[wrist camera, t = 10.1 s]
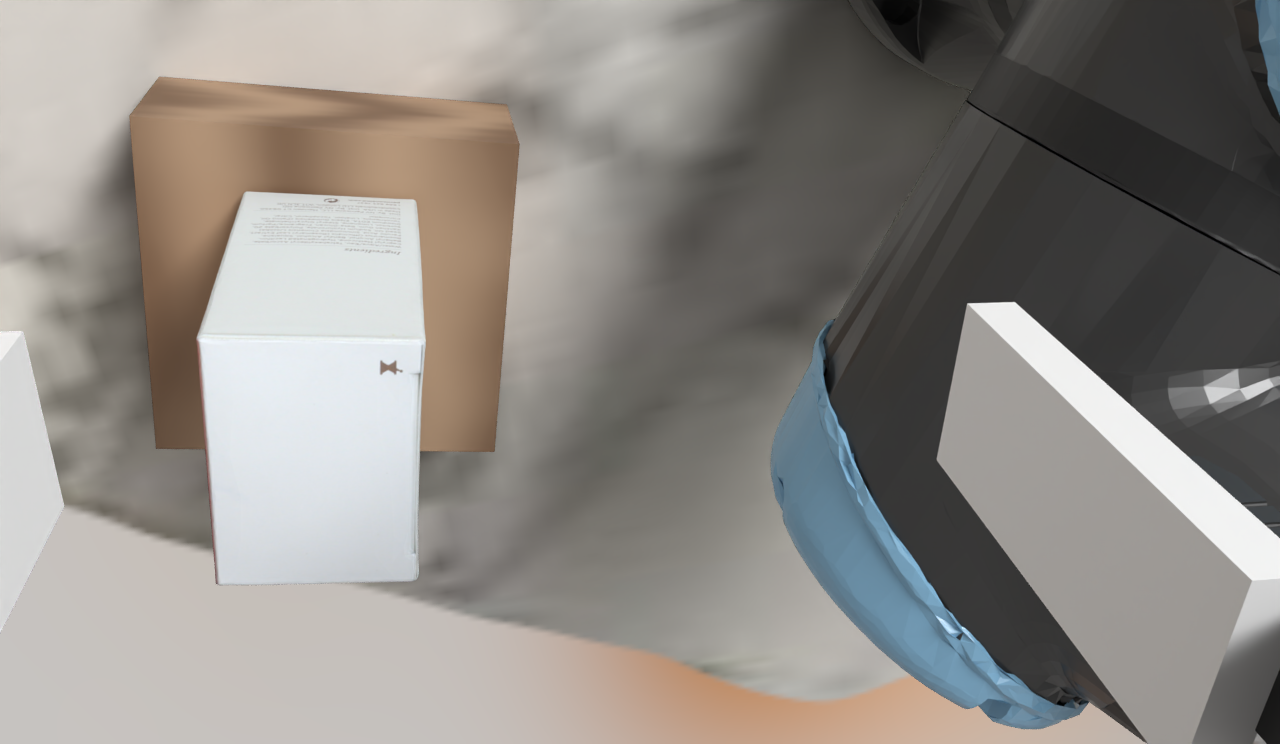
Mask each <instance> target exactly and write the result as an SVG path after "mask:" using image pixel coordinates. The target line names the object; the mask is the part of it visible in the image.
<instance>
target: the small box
mask: <svg viewBox="0 0 1280 744" xmlns="http://www.w3.org/2000/svg"><path fill="white" fill-rule="evenodd" d="M196 342H197V352H198V365H199V377H200V389H201V402H202V415H203V427H204V440H205V452H206V464H207V477H208V489H209V502H210V514H211V526H212V540H213V552H214V562H215V576H216V584H218V585H280V584H324V583H365V582H411V581H415V580H416V579H417V578H418V575H419V562H418V504H419V465H420V431H421V401H422V383H423V370H424V357H425V348H426V339H425V328H424V310H423V290H422V270H421V252H420V238H419V224H418V213H417V204H416V201H415V200H413V199H390V198H371V197H351V196H331V195H311V194H289V193H269V192H245V193H244V194H243V196H242V200H241V203H240V206H239V209H238V211H237V214H236V218H235V221H234V224H233V227H232V230H231V233H230V236H229V239H228V243H227V246H226V249H225V252H224V255H223V258H222V261H221V264H220V267H219V271H218V274H217V277H216V280H215V283H214V286H213V289H212V293H211V296H210V299H209V302H208V305H207V308H206V311H205V314H204V317H203V320H202V323H201V327H200V330H199V332H198V335H197V338H196Z"/></svg>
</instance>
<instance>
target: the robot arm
mask: <svg viewBox="0 0 1280 744" xmlns="http://www.w3.org/2000/svg"><path fill="white" fill-rule="evenodd" d="M848 1H849V2H850V4H851V6H852V7H853V9H854V11H855V12H856V14H857V15H858V17H859V18H860V19H861V21H862V22H863V23H864V25H865V26H866V27H867V28H868V29H869V31H870V32H871V33H872V34H873V35H874V36H875V37H876V38H877V39H878V40H879V41H880V42H881V43H882V44H883V45H884V46H885V47H887V48H888V49H889V50H891V51H892V52H893V53H894V54H896V55H897V56H899V57H900V58H902V59H903V60H905V61H907V62H908V63H910V64H912V65H914V66H915V67H917V68H919V69H921V70H922V71H924V72H926V73H928V74H930V75H931V76H933V77H935V78H937V79H939V80H942V81H944V82H947V83H949V84H952V85H955V86H958V87H962V88H966V89H970V90H972V92H971V94H970V95H969V97H968V98H967V100H968V101H967V100H966V101H965V102H964V104H963V106H962V107H961V109H960V111H959V113H958V114H957V116H956V118H955V119H954V121H953V123H952V124H951V126H950V128H949V129H948V131H947V133H946V134H945V136H944V138H943V139H942V141H941V143H940V145H939V146H938V148H937V150H936V151H935V153H934V155H933V156H932V158H931V160H930V161H929V163H928V165H927V166H926V168H925V170H924V171H923V173H922V175H921V177H920V178H919V180H918V182H917V183H916V185H915V187H914V188H913V190H912V192H911V193H910V195H909V197H908V198H907V200H906V202H905V203H904V205H903V207H902V209H901V210H900V212H899V214H898V215H897V217H896V219H895V220H894V222H893V224H892V225H891V227H890V229H889V230H888V232H887V234H886V235H885V237H884V239H883V241H882V242H881V244H880V246H879V247H878V249H877V251H876V252H875V254H874V256H873V257H872V259H871V261H870V262H869V264H868V266H867V267H866V269H865V271H864V273H863V274H862V276H861V278H860V279H859V281H858V283H857V284H856V286H855V288H854V289H853V291H852V293H851V294H850V296H849V298H848V299H847V301H846V303H845V305H844V306H843V308H842V310H841V311H840V313H839V315H838V316H837V318H836V319H834V320H830V321H828V322H827V323H826V325H825V326H824V327H823V329H822V330H821V331H820V333H819V335H818V337H817V339H816V342H815V344H814V347H813V356H812V362H811V364H810V366H809V368H808V370H807V371H806V373H805V375H804V377H803V379H802V381H801V383H800V385H799V387H798V389H797V391H796V393H795V394H794V396H793V398H792V400H791V402H790V404H789V406H788V408H787V410H786V412H785V414H784V416H783V418H782V419H781V421H780V424H779V426H778V428H777V431H776V434H775V437H774V441H773V445H772V452H771V477H772V482H773V486H774V491H775V496H776V499H777V501H778V503H779V505H780V507H781V509H782V511H783V520H784V524H785V526H786V528H787V531H788V533H789V535H790V537H791V539H792V541H793V543H794V545H795V547H796V548H797V550H798V552H799V553H800V555H801V557H802V558H803V560H804V561H805V563H806V564H807V566H808V567H809V569H810V570H811V572H812V573H813V575H814V576H815V578H816V579H817V581H818V582H819V583H820V585H821V586H822V587H823V589H824V590H825V591H826V592H827V594H828V595H829V596H830V597H831V599H832V600H833V601H834V602H835V603H836V605H837V606H838V607H839V608H840V609H841V610H842V611H843V612H844V613H845V614H846V616H847V617H848V618H849V619H850V620H851V621H852V622H853V623H854V624H855V625H856V626H857V627H858V628H859V629H860V630H861V631H862V632H863V633H864V634H865V635H866V636H867V637H868V638H869V639H870V640H871V641H872V642H873V643H874V644H875V645H876V646H877V647H878V648H879V649H880V650H881V651H882V652H884V653H885V654H886V655H887V656H888V657H889V658H891V659H892V660H893V661H894V662H895V663H897V664H898V665H899V666H900V667H901V668H902V669H904V670H905V671H906V672H908V673H909V674H910V675H911V676H913V677H914V678H915V679H917V680H918V681H920V682H921V683H922V684H924V685H925V686H927V687H928V688H930V689H931V690H933V691H934V692H936V693H938V694H939V695H941V696H943V697H944V698H946V699H948V700H950V701H951V702H953V703H955V704H957V705H958V706H960V707H962V708H965V709H970V708H974V707H976V706H979V707H980V708H981V709H982V710H983V712H984V713H985V714H986V715H987V716H988V717H989V718H990V719H991V720H992V721H993V722H996V723H1000V724H1003V725H1006V726H1011V727H1015V728H1021V729H1041V728H1045V727H1049V726H1051V725H1054V724H1057V723H1059V722H1060V721H1062V720H1067V719H1069V718H1072V717H1075V716H1077V715H1079V714H1080V713H1081V712H1082V711H1083V709H1084V708H1085V707H1086V706H1087V704H1088V703H1089V702H1090V703H1091V704H1093V705H1094V706H1096V707H1097V708H1099V709H1100V710H1102V711H1103V712H1104V713H1106V714H1107V715H1109V716H1110V717H1112V718H1113V719H1114V720H1115V721H1117V722H1118V723H1120V724H1121V725H1122V726H1124V727H1125V728H1126V729H1128V730H1129V731H1130V732H1132V733H1133V734H1135V735H1136V736H1137V737H1139V738H1140V739H1141V740H1142V741H1144V742H1145V743H1147V744H1280V0H848ZM63 509H64V502H63V498H62V494H61V490H60V485H59V481H58V477H57V473H56V468H55V464H54V460H53V456H52V451H51V447H50V443H49V439H48V434H47V430H46V426H45V422H44V417H43V413H42V409H41V405H40V400H39V396H38V392H37V388H36V383H35V379H34V375H33V371H32V366H31V362H30V358H29V353H28V349H27V345H26V341H25V336H24V332H23V331H6V332H0V633H1V631H2V629H3V627H4V625H5V623H6V621H7V619H8V617H9V615H10V613H11V611H12V609H13V607H14V605H15V603H16V601H17V599H18V597H19V595H20V593H21V591H22V589H23V588H24V586H25V584H26V582H27V580H28V578H29V576H30V574H31V572H32V570H33V568H34V566H35V564H36V562H37V560H38V558H39V556H40V554H41V552H42V550H43V548H44V546H45V544H46V542H47V540H48V538H49V536H50V534H51V532H52V530H53V528H54V526H55V524H56V522H57V520H58V518H59V516H60V515H61V513H62V511H63Z"/></svg>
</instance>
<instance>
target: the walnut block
mask: <svg viewBox="0 0 1280 744" xmlns="http://www.w3.org/2000/svg"><path fill="white" fill-rule="evenodd" d="M129 118H130V130H131V143H132V155H133V168H134V180H135V192H136V205H137V217H138V230H139V242H140V255H141V267H142V280H143V292H144V304H145V317H146V329H147V342H148V354H149V367H150V379H151V391H152V404H153V416H154V429H155V441H156V449H205V440H204V427H203V415H202V402H201V389H200V377H199V365H198V352H197V342H196V338H197V335H198V332H199V330H200V327H201V323H202V320H203V317H204V314H205V311H206V308H207V305H208V302H209V299H210V296H211V293H212V289H213V286H214V283H215V280H216V277H217V274H218V271H219V267H220V264H221V261H222V258H223V255H224V252H225V249H226V246H227V243H228V239H229V236H230V233H231V230H232V227H233V224H234V221H235V218H236V214H237V211H238V209H239V206H240V203H241V200H242V196H243V194H244V193H245V192H269V193H289V194H311V195H331V196H351V197H371V198H390V199H413V200H415V201H416V204H417V213H418V224H419V238H420V252H421V270H422V290H423V310H424V328H425V339H426V348H425V357H424V370H423V383H422V401H421V431H420V451H459V452H494V451H495V438H496V426H497V414H498V402H499V389H500V377H501V365H502V353H503V340H504V328H505V316H506V304H507V291H508V279H509V267H510V255H511V242H512V230H513V218H514V206H515V194H516V181H517V169H518V157H519V145H520V144H519V141H518V138H517V135H516V132H515V129H514V126H513V123H512V119H511V116H510V113H509V110H508V107H507V105H506V104H494V103H481V102H469V101H456V100H444V99H431V98H419V97H406V96H394V95H381V94H369V93H356V92H344V91H331V90H319V89H306V88H294V87H281V86H269V85H256V84H244V83H231V82H219V81H206V80H194V79H181V78H169V77H159V78H158V79H157V80H156V82H155V83H154V84H153V86H152V87H151V88H150V90H149V91H148V92H147V94H146V95H145V96H144V98H143V99H142V100H141V102H140V103H139V104H138V105H137V107H136V108H135V109H134V111H133V112H132V113H131V115H130V116H129Z"/></svg>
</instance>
